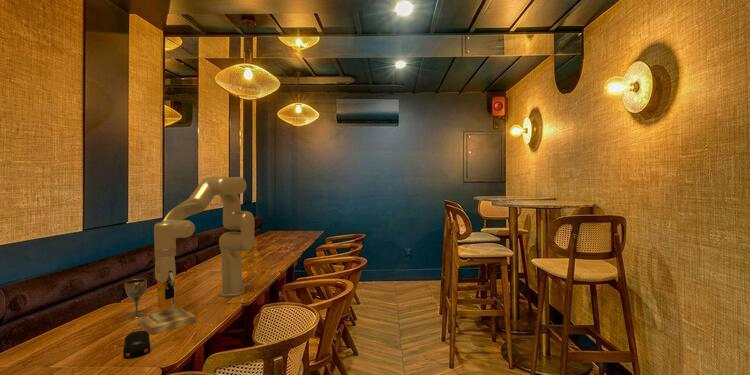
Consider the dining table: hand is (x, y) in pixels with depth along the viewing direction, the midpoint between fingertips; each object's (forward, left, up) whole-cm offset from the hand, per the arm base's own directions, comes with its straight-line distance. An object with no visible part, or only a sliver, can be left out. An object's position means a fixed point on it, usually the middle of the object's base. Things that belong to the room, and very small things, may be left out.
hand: (166, 296), depth 147 cm
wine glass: (+5, -21, -11) cm, 24 cm away
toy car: (+15, +16, -11) cm, 25 cm away
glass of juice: (0, 0, -5) cm, 5 cm away
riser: (0, 0, -11) cm, 11 cm away
